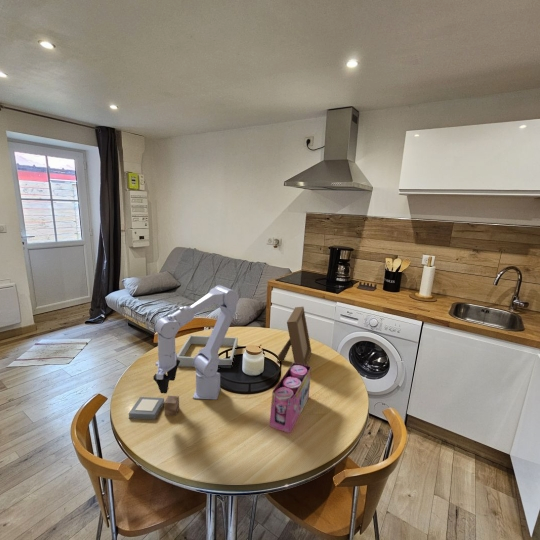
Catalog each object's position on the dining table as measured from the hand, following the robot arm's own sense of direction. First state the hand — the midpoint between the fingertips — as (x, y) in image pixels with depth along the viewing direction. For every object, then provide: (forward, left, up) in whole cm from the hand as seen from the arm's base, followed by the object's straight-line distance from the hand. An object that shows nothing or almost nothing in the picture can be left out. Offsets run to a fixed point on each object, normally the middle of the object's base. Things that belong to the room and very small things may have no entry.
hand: (167, 386), depth 105 cm
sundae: (-31, -26, -10) cm, 42 cm away
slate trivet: (+7, +1, -9) cm, 12 cm away
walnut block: (-2, +1, -10) cm, 10 cm away
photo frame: (-49, -40, -10) cm, 64 cm away
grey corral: (-6, -41, -9) cm, 43 cm away
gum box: (-45, -2, -10) cm, 46 cm away
